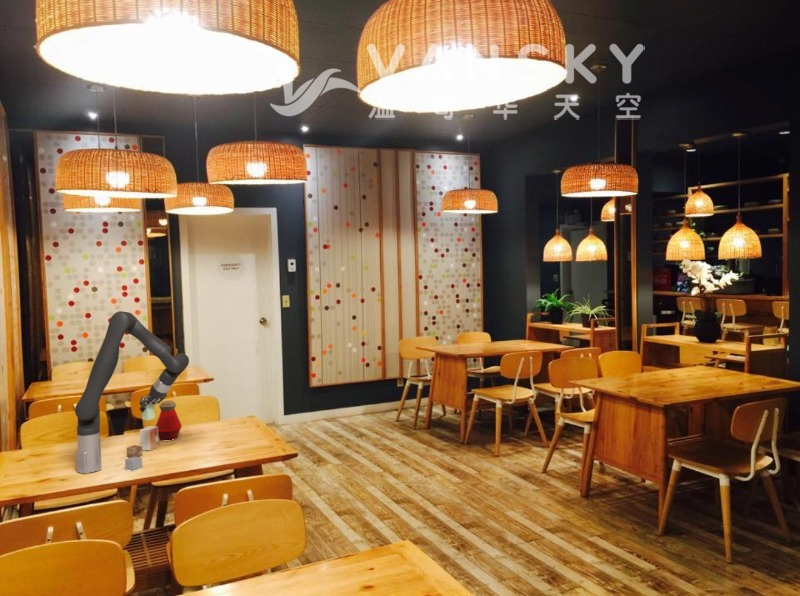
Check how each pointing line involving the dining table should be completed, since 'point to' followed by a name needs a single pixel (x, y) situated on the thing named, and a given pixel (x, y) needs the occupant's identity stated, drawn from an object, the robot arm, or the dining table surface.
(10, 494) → the dining table surface
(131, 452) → the walnut block
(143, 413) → the sage block
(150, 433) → the small box
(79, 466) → the robot arm
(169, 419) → the bottle
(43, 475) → the dining table surface
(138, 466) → the grey cube
